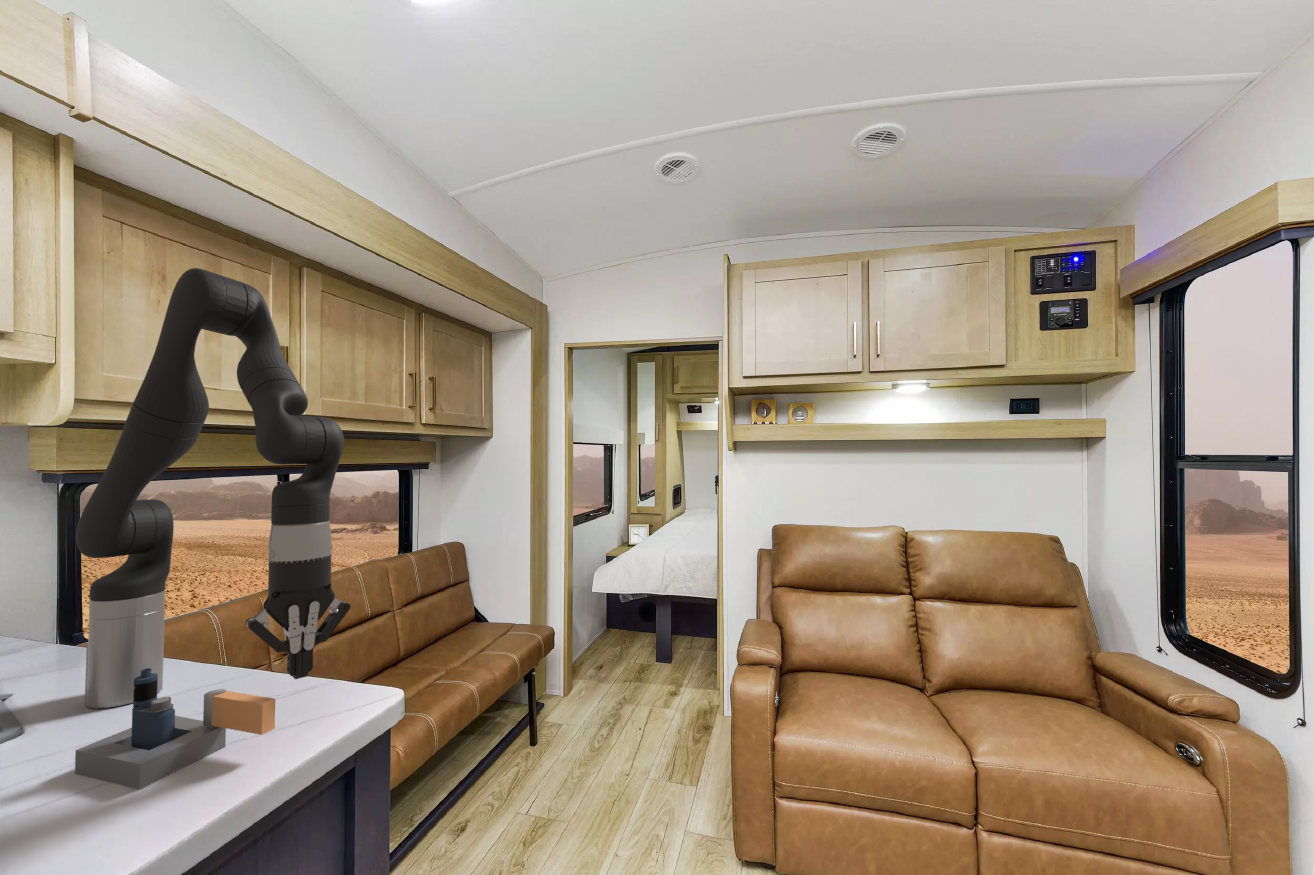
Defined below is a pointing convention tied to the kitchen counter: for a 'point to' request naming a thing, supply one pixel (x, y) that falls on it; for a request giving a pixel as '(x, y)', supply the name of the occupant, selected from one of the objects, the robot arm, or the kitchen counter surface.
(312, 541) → the robot arm
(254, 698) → the orange bar
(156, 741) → the vaping device
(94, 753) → the socket block
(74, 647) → the kitchen counter surface
